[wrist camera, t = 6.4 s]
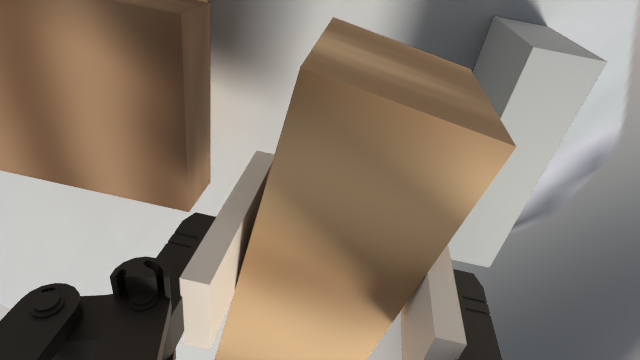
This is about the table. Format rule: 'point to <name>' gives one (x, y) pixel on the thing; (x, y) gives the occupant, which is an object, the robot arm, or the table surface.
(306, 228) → the skid
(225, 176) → the table surface
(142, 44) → the slab
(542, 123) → the block
